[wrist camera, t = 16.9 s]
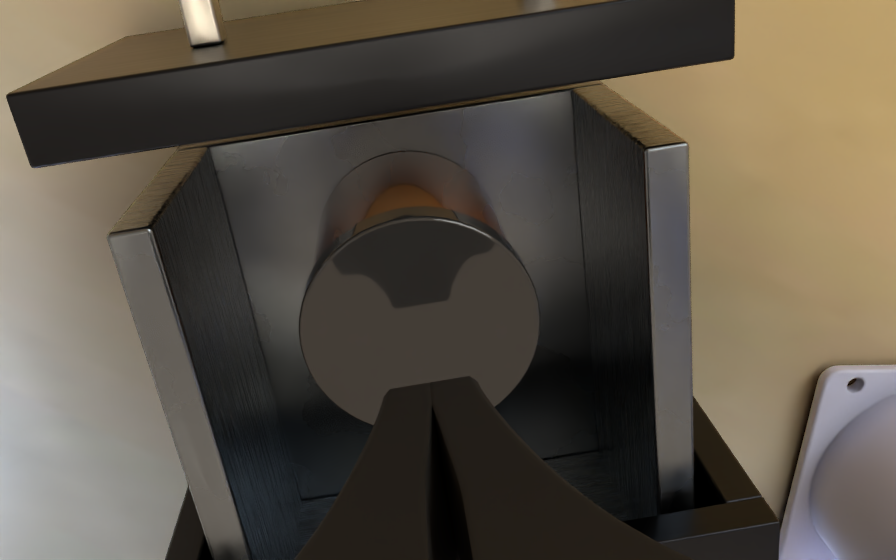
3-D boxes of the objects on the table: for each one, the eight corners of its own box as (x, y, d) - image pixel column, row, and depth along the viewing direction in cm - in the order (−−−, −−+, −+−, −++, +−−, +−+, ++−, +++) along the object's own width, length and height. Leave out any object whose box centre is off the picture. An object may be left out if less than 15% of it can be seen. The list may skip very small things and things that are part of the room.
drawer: (52, -211, 17) (-134, -288, 10) (603, -290, 17) (739, -411, 11) (259, 505, 24) (222, 707, 18) (639, 441, 25) (731, 618, 18)
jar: (508, 148, 19) (552, 217, 15) (496, 322, 21) (531, 432, 17) (311, 145, 19) (293, 216, 14) (316, 323, 21) (302, 437, 16)
